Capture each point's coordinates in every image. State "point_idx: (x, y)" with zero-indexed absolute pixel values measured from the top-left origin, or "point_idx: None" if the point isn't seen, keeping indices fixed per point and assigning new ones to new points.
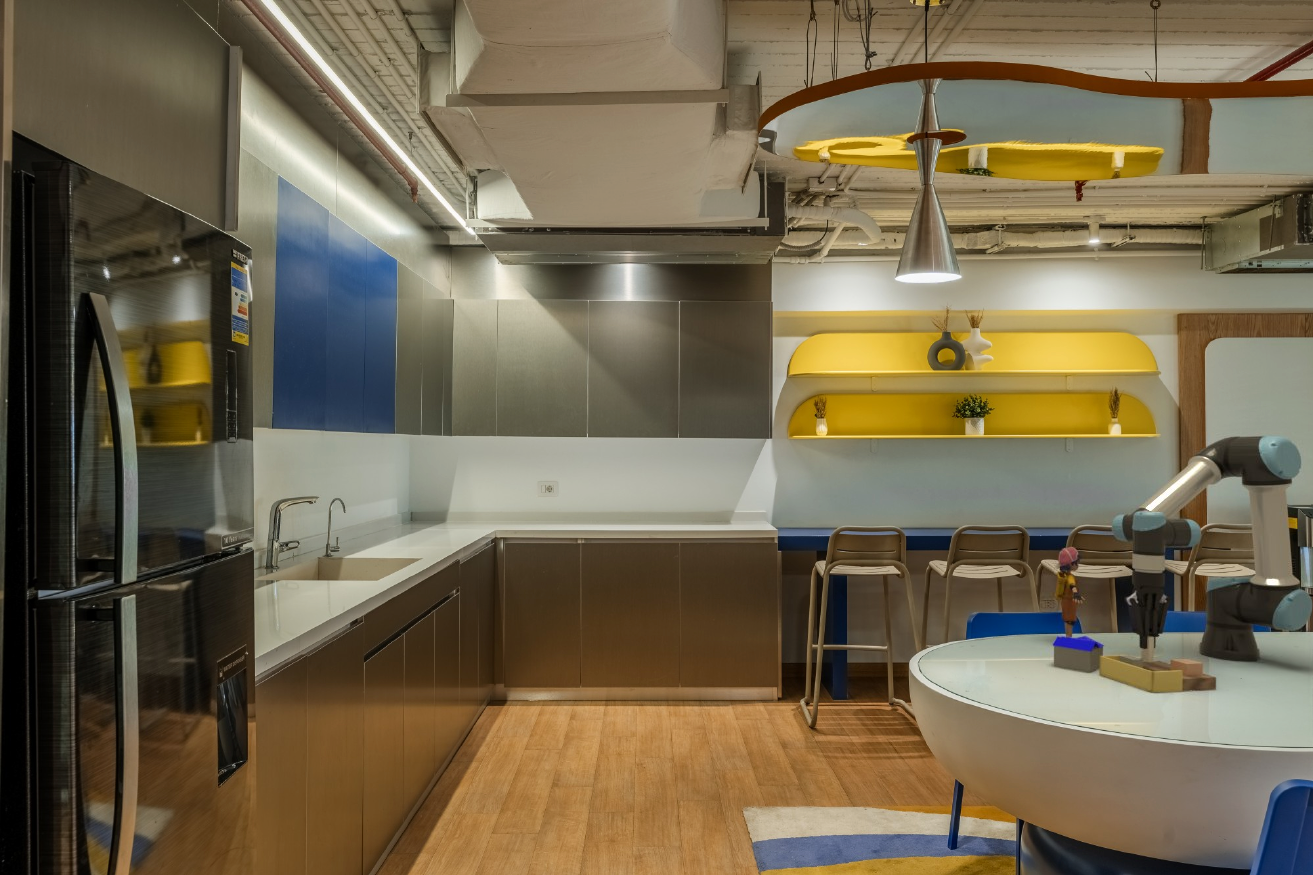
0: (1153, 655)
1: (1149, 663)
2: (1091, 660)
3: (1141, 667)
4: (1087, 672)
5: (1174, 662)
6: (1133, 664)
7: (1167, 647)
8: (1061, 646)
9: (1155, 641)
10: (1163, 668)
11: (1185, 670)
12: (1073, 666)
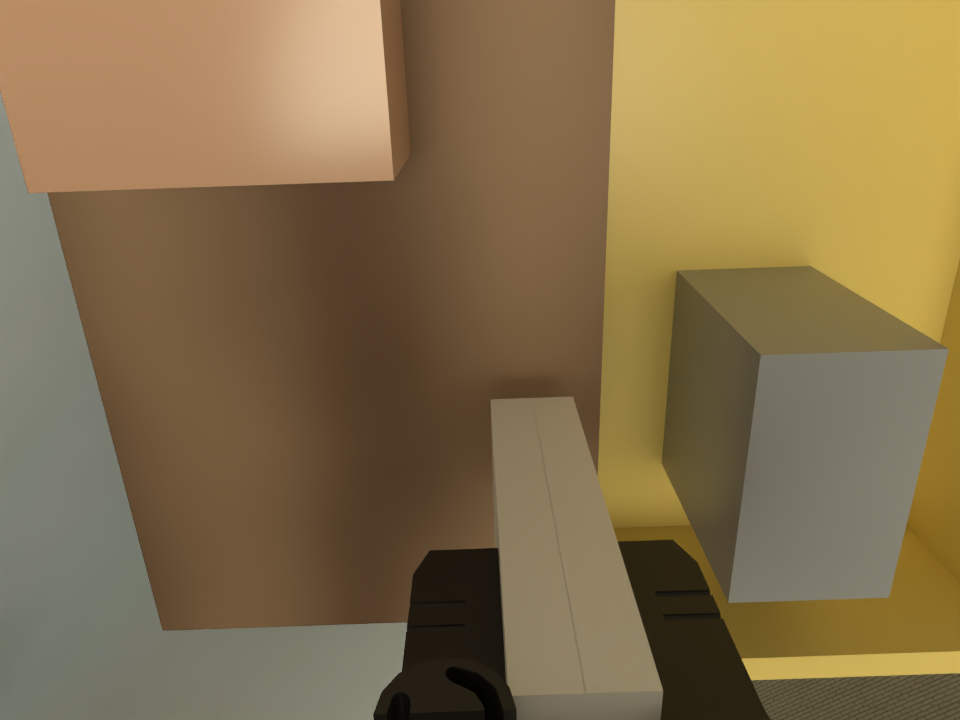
0: (497, 448)
1: (377, 545)
2: (953, 699)
3: (749, 310)
4: None
5: (391, 77)
6: (903, 325)
7: None
8: None
9: (406, 649)
10: (391, 308)
11: None
12: None
